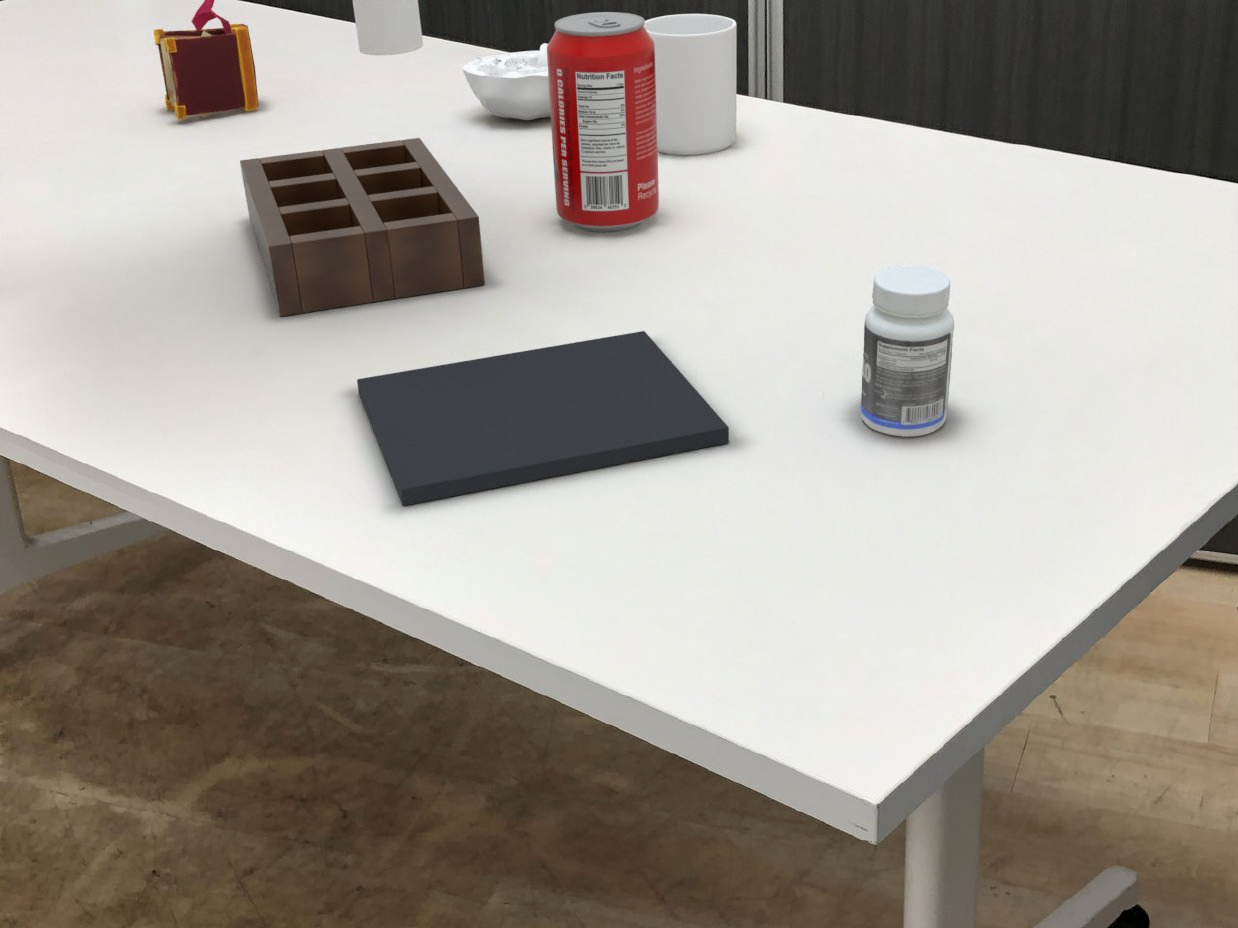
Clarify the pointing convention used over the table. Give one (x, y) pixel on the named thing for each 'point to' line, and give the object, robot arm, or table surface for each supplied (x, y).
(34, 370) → the table surface
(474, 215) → the box
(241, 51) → the book monster
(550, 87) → the soda can
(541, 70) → the cell model
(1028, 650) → the table surface
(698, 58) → the mug
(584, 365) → the mat
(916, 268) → the pill bottle
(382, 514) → the table surface
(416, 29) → the tube
